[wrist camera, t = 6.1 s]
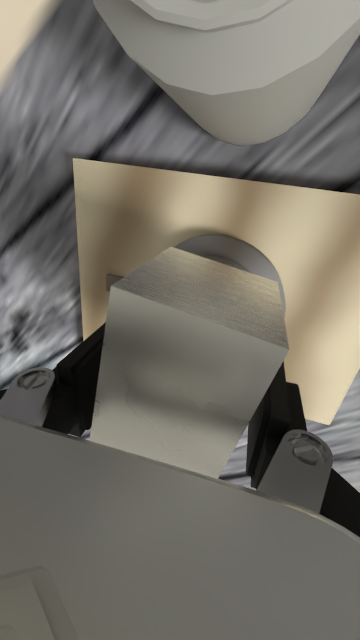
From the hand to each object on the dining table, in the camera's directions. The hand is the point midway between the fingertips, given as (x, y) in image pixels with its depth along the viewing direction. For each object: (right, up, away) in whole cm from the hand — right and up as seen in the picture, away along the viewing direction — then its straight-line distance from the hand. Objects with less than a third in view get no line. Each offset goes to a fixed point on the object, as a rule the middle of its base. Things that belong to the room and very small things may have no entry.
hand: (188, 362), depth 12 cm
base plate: (+2, +4, +7) cm, 9 cm away
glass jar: (+2, +3, +5) cm, 6 cm away
